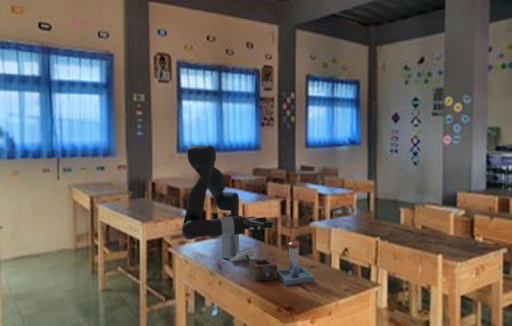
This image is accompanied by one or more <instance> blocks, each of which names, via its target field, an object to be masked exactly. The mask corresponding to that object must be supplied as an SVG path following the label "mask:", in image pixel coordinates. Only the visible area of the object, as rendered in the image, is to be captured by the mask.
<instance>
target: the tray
mask: <svg viewBox="0 0 512 326" xmlns="http://www.w3.org/2000/svg"><path fill="white" fill-rule="evenodd" d="M277 279H279V280H280V282H281V283H283V285H284V286H285V287H286V286H287V287H290V286H297V285H304V284H312V283H314V282H315V275H313V274H311V273H310V271H308V270H307V269H306V268H304V267H303V266H302V267H300V266H299V278H293V279H292V278H290V268H283V269H277Z"/></svg>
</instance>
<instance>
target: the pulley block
mask: <svg viewBox="0 0 512 326" xmlns="http://www.w3.org/2000/svg"><path fill="white" fill-rule="evenodd" d="M277 270H278V265H277V263H275V262H274V260H272V258H270V257H269V258H260V259H259V258H257V259H252V260H251V259H250V260H249V263H248V271H249V272H248V274H249V273H250V274H249V275H250V276H252V277H251V278H252V279H253V281H254V280H255V281H254V282H259V281H260V280H261V281H264V282H269V281H271V280H275V279H278V277H277ZM261 281H260V282H261Z"/></svg>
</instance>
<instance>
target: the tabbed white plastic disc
mask: <svg viewBox="0 0 512 326" xmlns="http://www.w3.org/2000/svg"><path fill="white" fill-rule="evenodd" d="M257 252H258V251H257V249H256V247H255V246H252V247H251V246H250V247H248V248H244V249H242V250H240V251H239V253H237V254H236V256H232V257H230V258H229V259H228V260H229V261H230V262H231V263H232V262H240V261H244V259H245V260H247V263H248V264H249V260H251V259H250V258H252V257H256V256H257V255H258V253H257ZM239 260H240V261H239Z"/></svg>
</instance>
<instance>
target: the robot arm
mask: <svg viewBox="0 0 512 326" xmlns="http://www.w3.org/2000/svg"><path fill="white" fill-rule="evenodd" d="M216 158H217V153H216V148H215V147H214V146H213V145H204V144H203V145H201V144H200V145H199V144H197V145H196V144H195V145H192V146H190V147H189V148H188V149H187V159H188V163H189V165H190V167H192V169H193V170H195V172H196V173H197V174H198V175H199V177H198V179H197V181H196V182H195V183H194V184H193V186H192V187H191V189H190V190H189V192H188V195H187V201H186V207H185V214H184V219H183V224H182V228H181V234H182V235H183V238H185V239H186V240H194V239H196V238H199V237H200V238H202V237H220V246H221V247H220V249H221V252H220V253H221V258H222V257H224V258H230V257H232V256H236V254H237V253H239V252H240V235H243V234H244V233H245V230H248V232H261V231H264V229H271V228H273V222H272V221H267V217H266V216H264V217H263V216H262V217H256V216H254V215H253V216H246V217H243V216H242V215H240V212H239V211H240V198H239V194H238V192H224V190H226V185H227V182H226V178H225V176H224V175H223V173H222V172H221V170H219V168H216V167H215V165H216V160H217V159H216ZM207 190H208V191H209V192H210V195H211V196H212V197H213V200H214V203H215V205H216V207H217V208H218V210H220V211H227V212H228V211H230V214H228V215H225V216H222V217H221V218H210V219H202V215H203V212H204V207H205V201H206V196H207V195H206V194H207ZM224 258H223V259H224Z"/></svg>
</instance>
